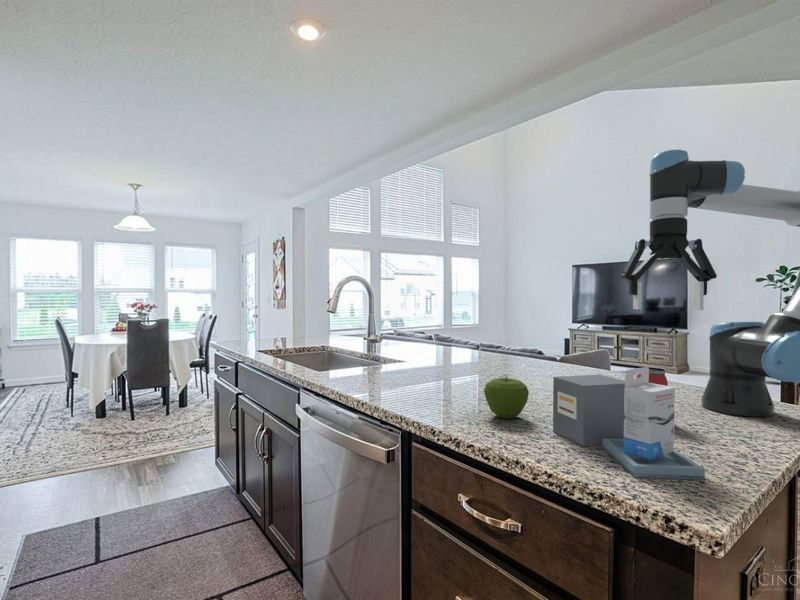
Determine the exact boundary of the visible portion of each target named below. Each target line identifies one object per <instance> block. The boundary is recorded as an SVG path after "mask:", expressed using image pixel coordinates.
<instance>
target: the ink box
mask: <svg viewBox="0 0 800 600" xmlns="http://www.w3.org/2000/svg"><path fill="white" fill-rule="evenodd" d="M649 370H650V368H649V366H646V367H638V368H631V369H627V370H626V371H625V375H624V376H625V377H624V381H625V388H624V452H625V453H628V454H632V455H635V456H638V457H641V458H645V459H648V460H652V459H655V458H657V457H660V456H663V455H666V454H668V453H671V452H673V451H674V449H675V447H674V446H675V401H676V399H675V398H676V397H675V396H676V387H675V386H672V385H671V386H669V385H668V386H665V385H659V384H653V383H649ZM637 374H641V377H640V378H636V377H635V376H637Z"/></svg>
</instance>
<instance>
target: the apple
mask: <svg viewBox="0 0 800 600" xmlns="http://www.w3.org/2000/svg"><path fill="white" fill-rule="evenodd" d="M527 386H528V385H526V384H525V383H523V382H522V380H520V379H514V378H508V376H505V377H499V378H493V379H492V380H490V381H488V382H487V383H486V384H485V386H484V389H483V392H484V396H485V400H486V403H487V405H488V407H489V409H490V411H491V412H492V413H493V414H494V415H495V416H497V417H499V418H501V419H506V420H507V419H508V420H513V419H515V418H516V417H517V416H519V415H520V414H521V413H522V411H523V410H524V408H525V406H526V404H528V403H527V402H528V398H529V392H530V391H529V390H528V387H527Z"/></svg>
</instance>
